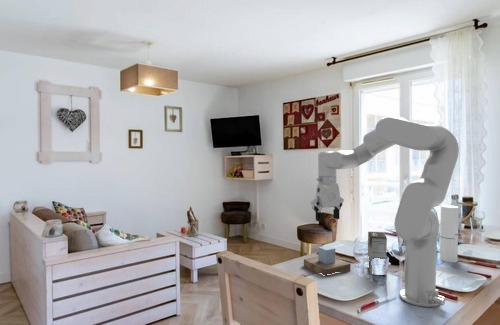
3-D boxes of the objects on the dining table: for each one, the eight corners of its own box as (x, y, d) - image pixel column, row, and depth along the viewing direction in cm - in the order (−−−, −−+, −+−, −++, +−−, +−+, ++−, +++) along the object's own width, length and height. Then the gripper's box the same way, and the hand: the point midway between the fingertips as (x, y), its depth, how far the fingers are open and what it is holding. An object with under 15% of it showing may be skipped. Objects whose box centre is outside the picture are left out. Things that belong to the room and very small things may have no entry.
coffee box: (367, 267, 147) (367, 231, 146) (382, 268, 146) (383, 231, 145) (370, 275, 138) (370, 236, 137) (386, 276, 137) (387, 237, 136)
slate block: (335, 262, 145) (335, 248, 145) (326, 264, 143) (326, 250, 142) (327, 258, 149) (327, 245, 149) (318, 260, 147) (318, 247, 147)
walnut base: (350, 270, 143) (350, 263, 143) (324, 276, 137) (324, 269, 137) (328, 260, 156) (328, 254, 155) (303, 265, 149) (303, 259, 149)
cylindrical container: (461, 261, 154) (462, 207, 153) (449, 263, 152) (451, 208, 150) (446, 256, 161) (448, 204, 160) (435, 258, 158) (437, 205, 157)
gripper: (316, 182, 137) (317, 223, 137) (348, 179, 145) (349, 219, 145) (305, 180, 144) (306, 220, 144) (336, 178, 151) (337, 216, 152)
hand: (327, 219), depth 145 cm, fingers open, 9 cm apart
